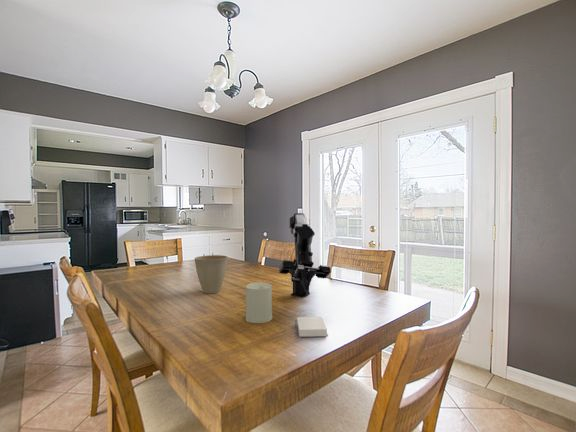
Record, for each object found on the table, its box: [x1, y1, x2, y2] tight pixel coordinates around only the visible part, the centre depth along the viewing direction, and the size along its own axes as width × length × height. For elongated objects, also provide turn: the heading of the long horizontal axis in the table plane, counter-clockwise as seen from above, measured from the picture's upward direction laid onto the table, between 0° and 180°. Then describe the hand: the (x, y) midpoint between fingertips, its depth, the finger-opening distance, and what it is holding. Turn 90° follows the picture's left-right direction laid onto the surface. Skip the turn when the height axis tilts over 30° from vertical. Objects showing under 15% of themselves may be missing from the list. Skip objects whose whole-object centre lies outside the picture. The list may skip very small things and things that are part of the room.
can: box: [245, 282, 273, 324], centre depth 100 cm, size 9×9×12 cm
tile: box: [296, 316, 328, 338], centre depth 89 cm, size 2×8×10 cm
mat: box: [294, 319, 329, 338], centre depth 91 cm, size 13×9×1 cm
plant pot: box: [194, 254, 229, 295], centre depth 134 cm, size 15×15×16 cm
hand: (306, 291), depth 103 cm, fingers closed
